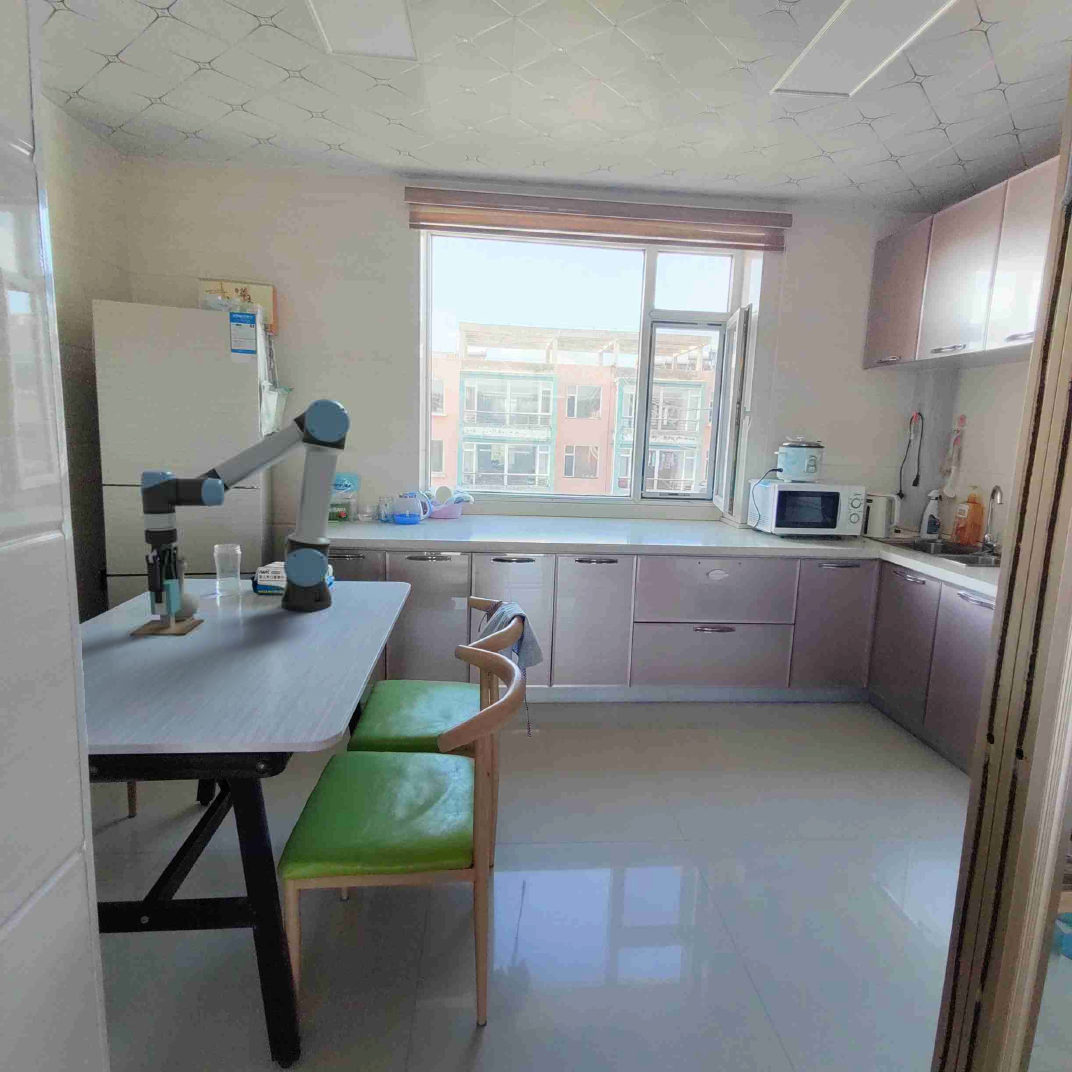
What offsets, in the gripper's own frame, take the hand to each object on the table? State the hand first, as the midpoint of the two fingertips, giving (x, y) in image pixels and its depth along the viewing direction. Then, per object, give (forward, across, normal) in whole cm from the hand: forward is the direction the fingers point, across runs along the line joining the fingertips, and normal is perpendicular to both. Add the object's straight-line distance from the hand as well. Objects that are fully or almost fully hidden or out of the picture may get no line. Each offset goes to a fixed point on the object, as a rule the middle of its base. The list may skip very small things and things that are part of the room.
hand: (166, 610), depth 170 cm
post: (+5, 0, 0) cm, 5 cm away
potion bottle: (+5, -9, 0) cm, 10 cm away
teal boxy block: (0, 0, 0) cm, 0 cm away
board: (+5, 0, 0) cm, 5 cm away
